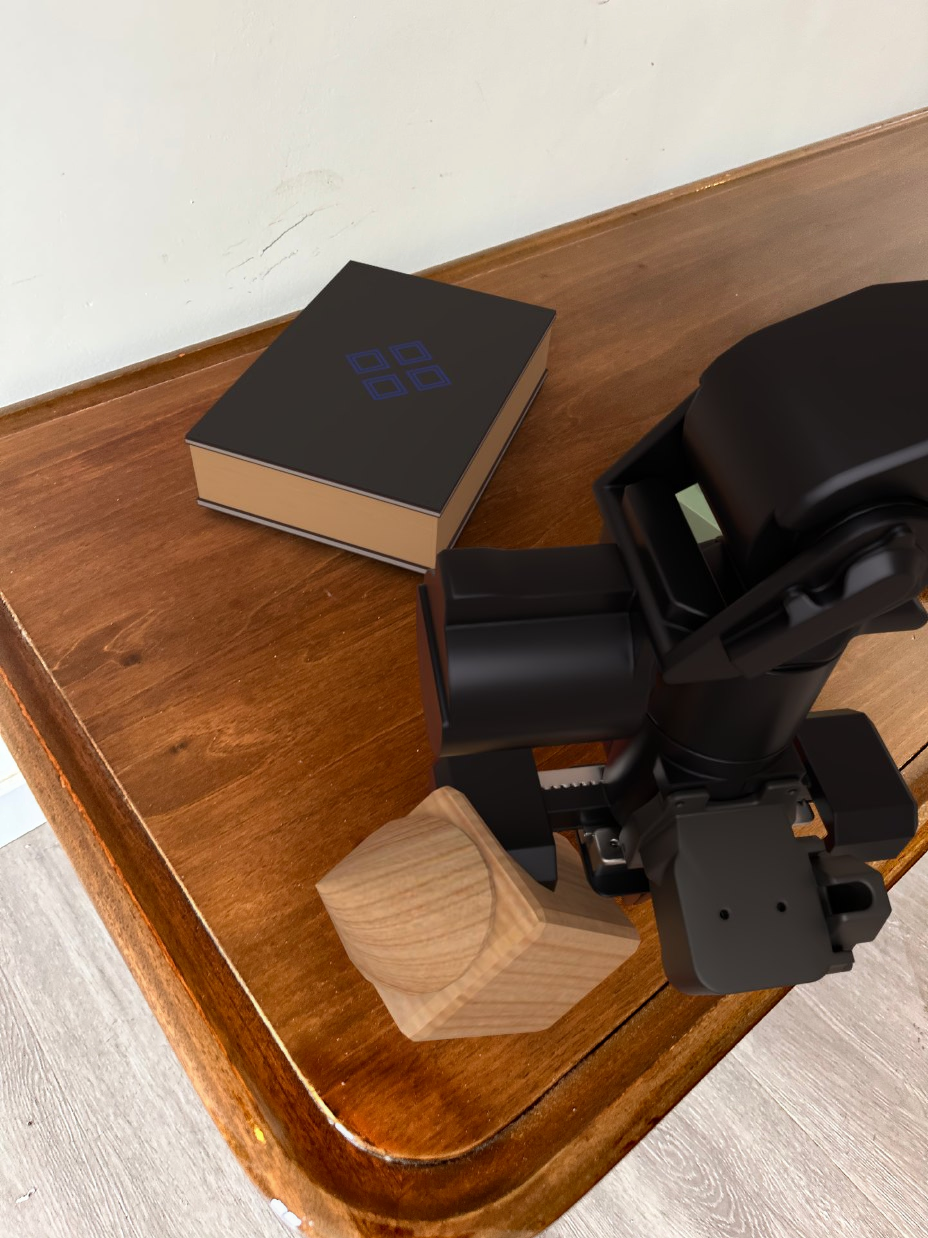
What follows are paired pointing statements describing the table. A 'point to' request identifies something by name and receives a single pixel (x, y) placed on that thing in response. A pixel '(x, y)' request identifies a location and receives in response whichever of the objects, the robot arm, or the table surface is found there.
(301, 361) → the book
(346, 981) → the table surface
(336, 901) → the decorative item
